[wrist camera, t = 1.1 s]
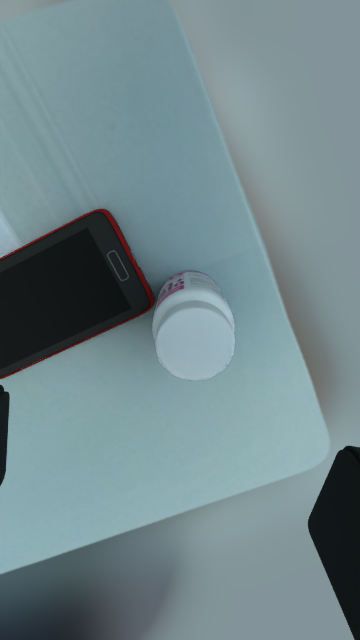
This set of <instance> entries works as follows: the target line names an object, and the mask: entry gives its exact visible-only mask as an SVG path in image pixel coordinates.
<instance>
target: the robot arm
mask: <svg viewBox="0 0 360 640" xmlns="http://www.w3.org/2000/svg"><path fill="white" fill-rule="evenodd" d="M8 417H9V393H8V392H5V391H4V388H3V386H2V385H0V486H1V484H2V482H3V479H4V476H5V472H6V456H7V436H8ZM308 529H309V533H310V535H311V538H312V540H313V542H314V545H315V547H316V549H317V552H318V554H319V557H320V559H321V561H322V563H323V566H324V568H325V571H326V573H327V575H328V578H329V580H330V582H331V585H332V587H333V590H334V592H335V594H336V597H337V599H338V601H339V604H340V606H341V608H342V611H343V613H344V616H345V618H346V620H347V623H348V625H349V627H350V630H351V632H352V634H353V637H354V639H355V640H360V448H359V447H354V446H346V447H345V448H344V449H343V450H340V451H339V452H338V453H337V455H336V457H335V460H334V462H333V464H332V467H331V469H330V471H329V473H328V476H327V478H326V480H325V483H324V485H323V487H322V489H321V491H320V494H319V496H318V498H317V501H316V503H315V505H314V507H313V510H312V512H311V514H310V516H309V519H308Z"/></svg>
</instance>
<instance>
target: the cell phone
mask: <svg viewBox="0 0 360 640" xmlns="http://www.w3.org/2000/svg"><path fill="white" fill-rule="evenodd" d="M154 302H155V300H154V296H153V293H152V290H151V288H150V286H149V284H148V283H147V281H146V279H145V276H144V274H143V272H142V271H141V269H140V267H138V265H137V263H136V261H135V259H134V257H133V255H132V253H131V249H130V247H129V245H128V243H127V241H126V239H125V237H124V236H123V234H122V232H121V230H120V228H119V226H118V224H117V222H116V220H115V219H114V217H113V216H112V214H111V213H110V212H109V211H107V210H106V209H97V210H94V211H92V212H89V213H87V214H85V215H83V216H81V217H79V218H77V219H75V220H73V221H71V222H69V223H67V224H65V225H63V226H61V227H60V228H58V229H56V230H54V231H52V232H50V233H48V234H46V235H44V236H42V237H40V238H38V239H36V240H35V241H33V242H31V243H29V244H27V245H25V246H23V247H21V248H19V249H17V250H15V251H13V252H12V253H10V254H8V255H6V256H4V257H2V258H0V379H3V378H5V377H8V376H10V375H12V374H14V373H17V372H19V371H21V370H23V369H25V368H27V367H30V366H32V365H34V364H36V363H38V362H40V361H43V360H45V359H47V358H49V357H51V356H53V355H56V354H58V353H60V352H62V351H64V350H66V349H69V348H71V347H73V346H75V345H77V344H79V343H82V342H84V341H86V340H88V339H90V338H92V337H95V336H97V335H99V334H101V333H103V332H106V331H108V330H110V329H112V328H114V327H116V326H119V325H121V324H123V323H125V322H127V321H129V320H132V319H134V318H136V317H138V316H140V315H142V314H144V313H146V312H147V311H149V310H150V309H151V308H152V307H153V305H154ZM45 357H46V358H45ZM40 359H41V360H40ZM38 360H39V361H38ZM36 361H37V362H36ZM34 362H35V363H34ZM32 363H33V364H32ZM27 365H28V366H27ZM25 366H26V367H25ZM23 367H24V368H23ZM21 368H22V369H21Z"/></svg>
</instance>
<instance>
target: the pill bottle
mask: <svg viewBox="0 0 360 640" xmlns="http://www.w3.org/2000/svg"><path fill="white" fill-rule="evenodd" d="M234 330H235V325H234V318H233V315H232V312H231V310H230V307H229V306H228V304H227V302H226V300H225V298H224V296H223V294H222V292H221V290H220V288H219V286H218V285H217V283H216V282H215V281H214V280H213V279H211V278H210V277H209V276H207V275H206V274H204V273H201V272H197V271H184V272H180V273H177V274H175V275H174V276H172V277H171V278H169V279H168V280H167V281H166V282H165V284H164V285H163V287H162V288H161V291H160V293H159V297H158V301H157V304H156V308H155V312H154V317H153V322H152V333H153V338H154V341H155V347H156V353H157V356H158V359H159V361H160V362H161V364H162V365H163V367H164V368H165V369H166V370H167V371H168V372H170V373H171V374H172V375H174V376H176V377H178V378H181V379H184V380H189V381H199V380H205V379H208V378H211V377H213V376H215V375H217V374H218V373H220V372H221V371H222V370H223V369H224V368H225V367H226V366H227V365H228V363H229V362H230V360H231V358H232V356H233V353H234V349H235V339H234Z"/></svg>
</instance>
